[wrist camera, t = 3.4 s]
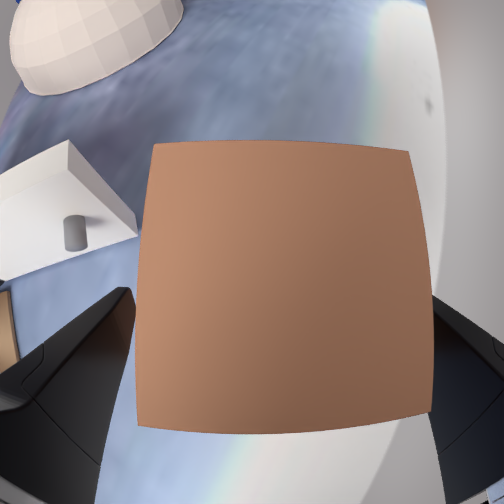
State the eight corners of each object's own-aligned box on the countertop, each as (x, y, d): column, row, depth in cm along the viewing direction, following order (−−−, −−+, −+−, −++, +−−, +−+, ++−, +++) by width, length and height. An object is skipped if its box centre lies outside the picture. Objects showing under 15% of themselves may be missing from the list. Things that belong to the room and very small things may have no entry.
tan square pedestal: (322, 372, 17) (463, 445, 4) (200, 374, 16) (92, 463, 4) (320, 255, 18) (433, 120, 6) (202, 255, 18) (118, 110, 6)
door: (7, 299, 17) (-79, 277, 8) (5, 262, 18) (-76, 228, 9) (142, 258, 18) (67, 202, 9) (135, 214, 18) (68, 139, 10)
